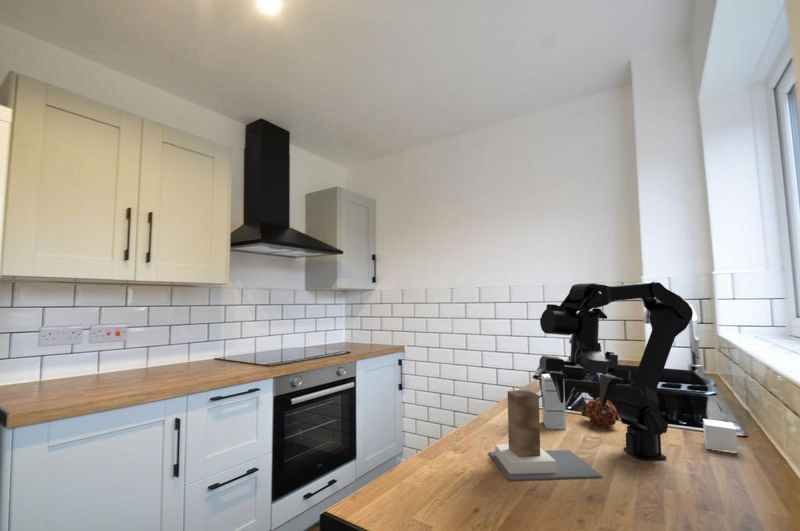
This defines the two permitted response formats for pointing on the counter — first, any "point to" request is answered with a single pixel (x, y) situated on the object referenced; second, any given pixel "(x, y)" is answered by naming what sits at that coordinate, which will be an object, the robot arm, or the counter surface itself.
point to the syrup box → (552, 405)
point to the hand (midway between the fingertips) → (581, 404)
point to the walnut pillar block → (523, 423)
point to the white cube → (720, 435)
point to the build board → (562, 468)
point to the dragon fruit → (601, 413)
